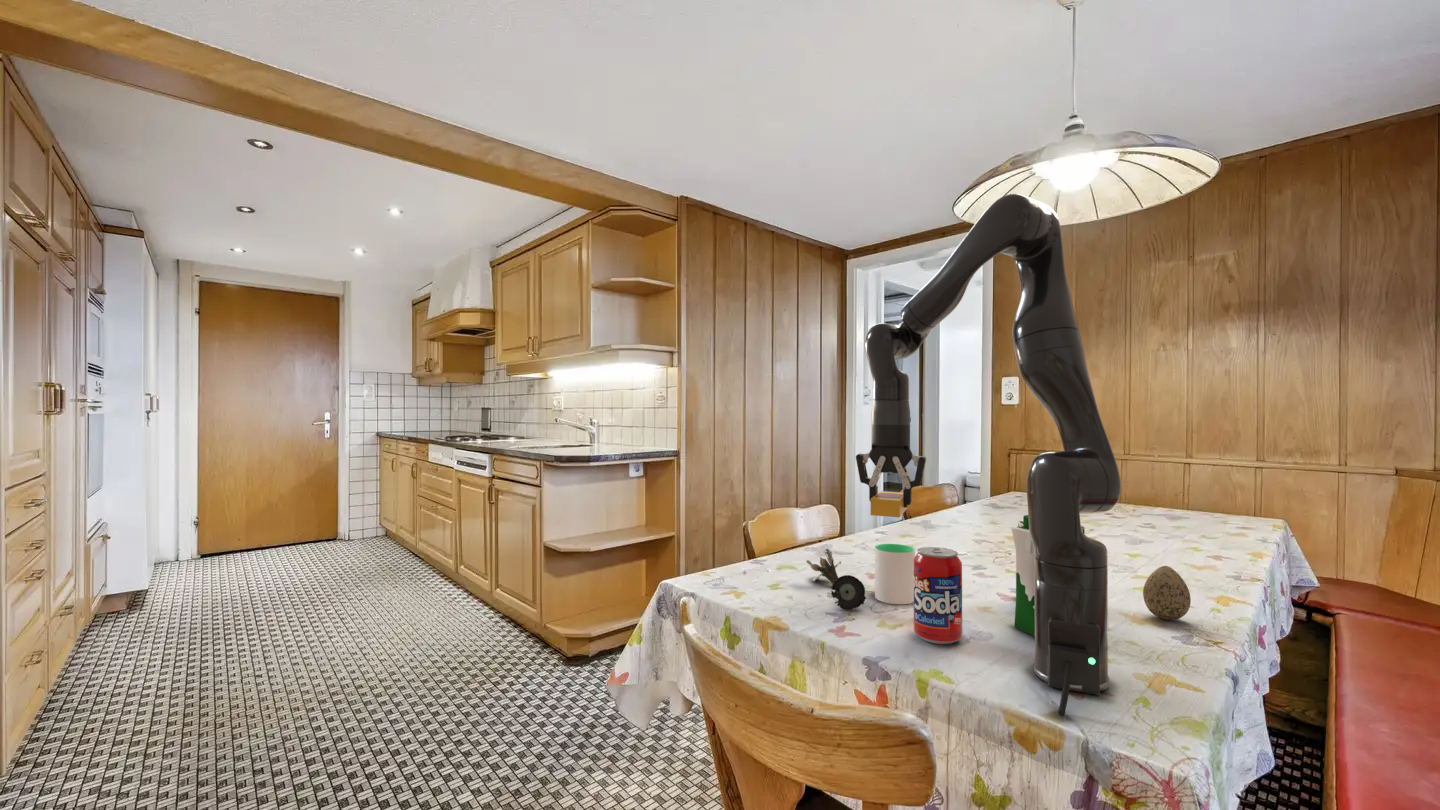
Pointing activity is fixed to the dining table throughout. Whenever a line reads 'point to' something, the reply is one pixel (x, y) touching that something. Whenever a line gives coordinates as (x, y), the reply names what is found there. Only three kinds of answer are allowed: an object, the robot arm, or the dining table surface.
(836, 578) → the dark long pronged piece
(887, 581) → the mug
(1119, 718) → the dining table surface
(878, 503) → the tea packet
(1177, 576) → the decorative egg
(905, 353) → the robot arm
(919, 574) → the soda can
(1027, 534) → the milk carton
